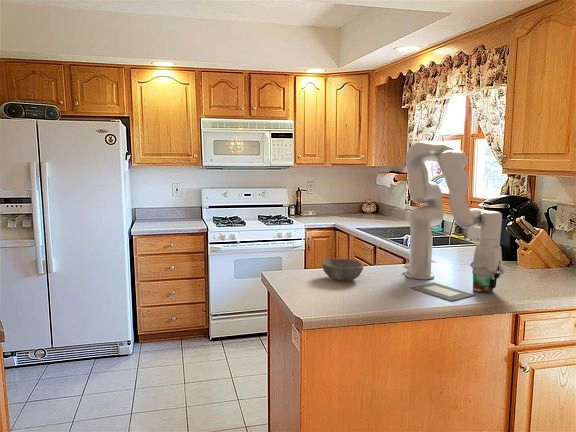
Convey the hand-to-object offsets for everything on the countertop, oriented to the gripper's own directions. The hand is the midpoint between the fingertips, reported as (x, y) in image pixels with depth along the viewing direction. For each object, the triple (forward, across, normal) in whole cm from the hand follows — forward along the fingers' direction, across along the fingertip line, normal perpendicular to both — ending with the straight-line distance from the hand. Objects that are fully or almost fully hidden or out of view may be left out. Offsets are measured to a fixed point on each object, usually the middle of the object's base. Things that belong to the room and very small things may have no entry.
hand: (485, 286), depth 186 cm
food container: (+2, +1, 0) cm, 3 cm away
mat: (+2, -8, -16) cm, 18 cm away
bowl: (+3, -43, -39) cm, 58 cm away
